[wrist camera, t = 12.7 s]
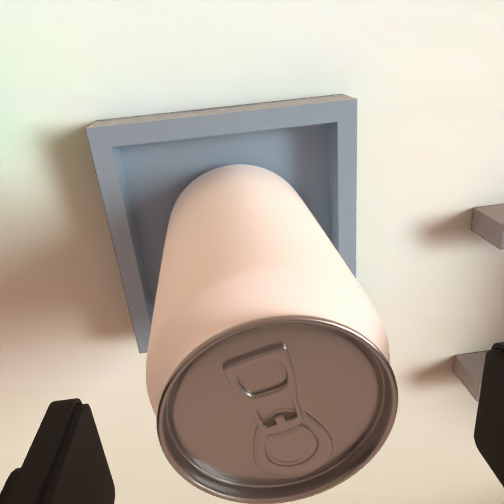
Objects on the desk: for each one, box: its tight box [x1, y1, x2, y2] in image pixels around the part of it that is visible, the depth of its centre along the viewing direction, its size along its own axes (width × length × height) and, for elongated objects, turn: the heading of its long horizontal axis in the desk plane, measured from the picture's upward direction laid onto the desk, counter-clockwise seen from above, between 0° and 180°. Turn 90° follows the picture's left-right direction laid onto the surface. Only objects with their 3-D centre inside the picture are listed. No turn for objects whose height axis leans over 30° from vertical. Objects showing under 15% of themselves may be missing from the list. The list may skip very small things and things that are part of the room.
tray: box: [86, 94, 357, 353], centre depth 21 cm, size 11×11×2 cm
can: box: [146, 164, 398, 504], centre depth 16 cm, size 6×6×12 cm
